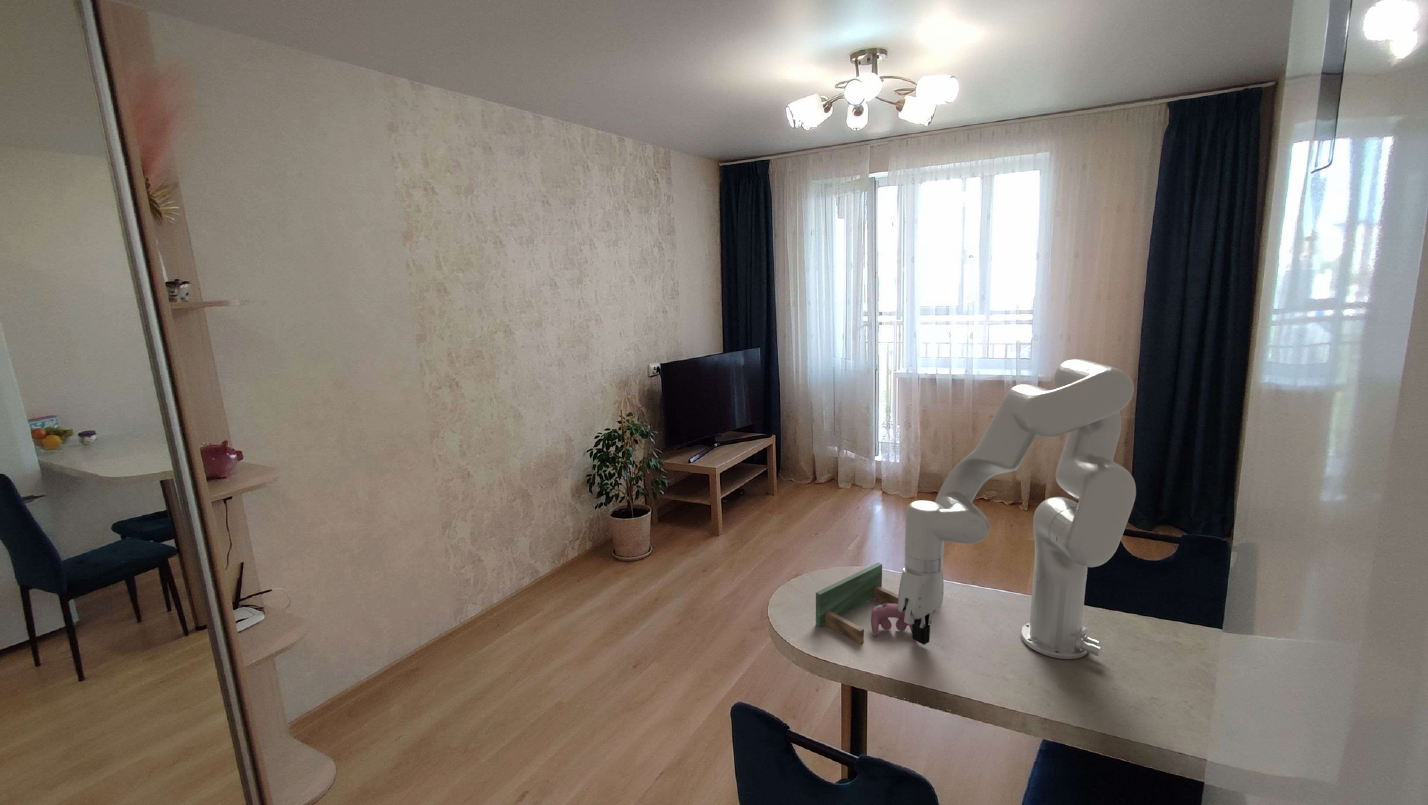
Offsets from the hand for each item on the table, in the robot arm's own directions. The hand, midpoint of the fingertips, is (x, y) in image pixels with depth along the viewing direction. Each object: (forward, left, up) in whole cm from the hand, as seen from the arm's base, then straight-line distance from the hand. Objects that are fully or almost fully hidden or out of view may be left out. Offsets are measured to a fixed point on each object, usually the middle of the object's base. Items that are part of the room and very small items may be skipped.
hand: (920, 640), depth 133 cm
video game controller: (+7, 0, -1) cm, 7 cm away
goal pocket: (+14, 0, -1) cm, 14 cm away
